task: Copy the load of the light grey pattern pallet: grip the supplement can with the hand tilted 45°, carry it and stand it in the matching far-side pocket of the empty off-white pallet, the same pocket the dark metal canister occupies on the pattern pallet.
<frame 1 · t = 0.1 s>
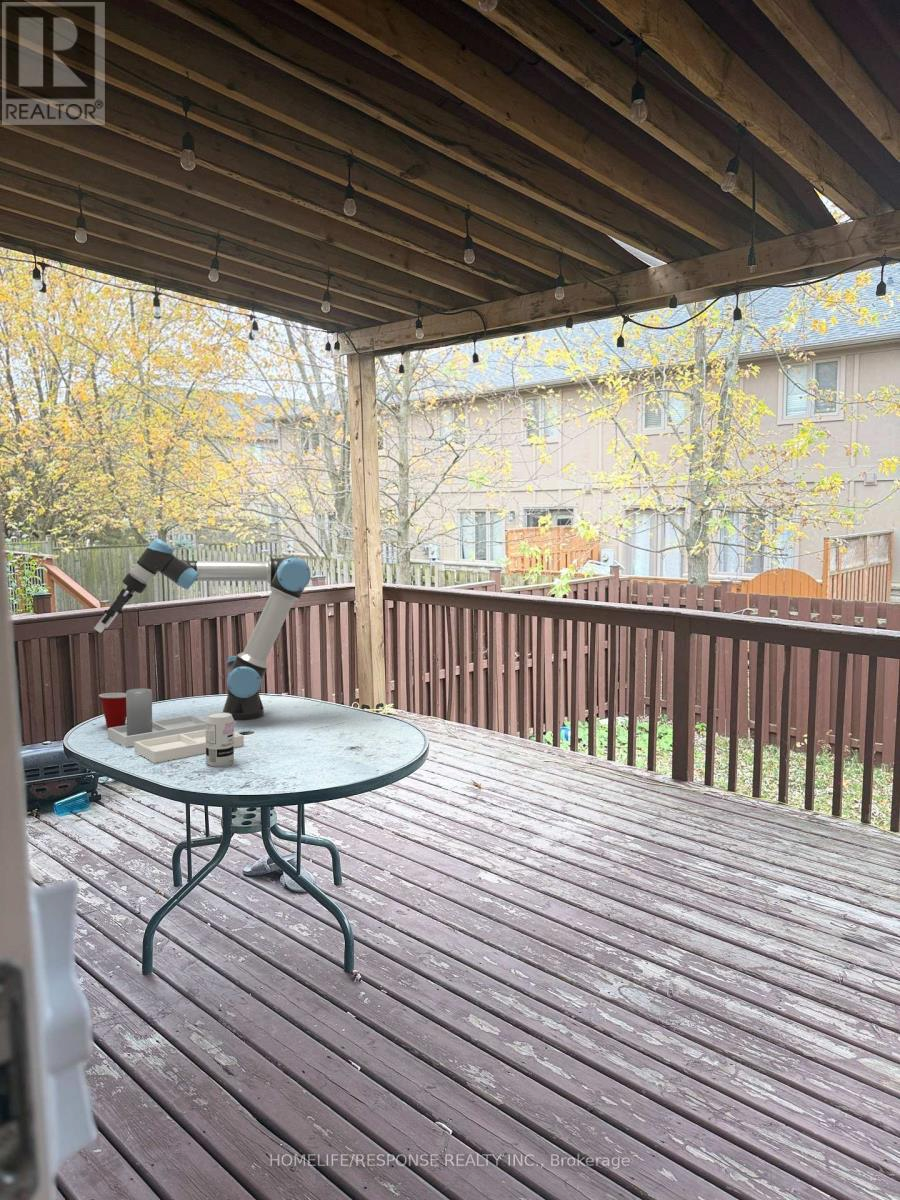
hand: (100, 628, 275), 36 cm above the table, tool tilted 35°, fingers open, 13 cm apart
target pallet: (190, 749, 257), on the table
pattern pallet: (160, 735, 273), on the table
supplement can: (220, 763, 243), on the table
plastic cup: (116, 727, 283), on the table
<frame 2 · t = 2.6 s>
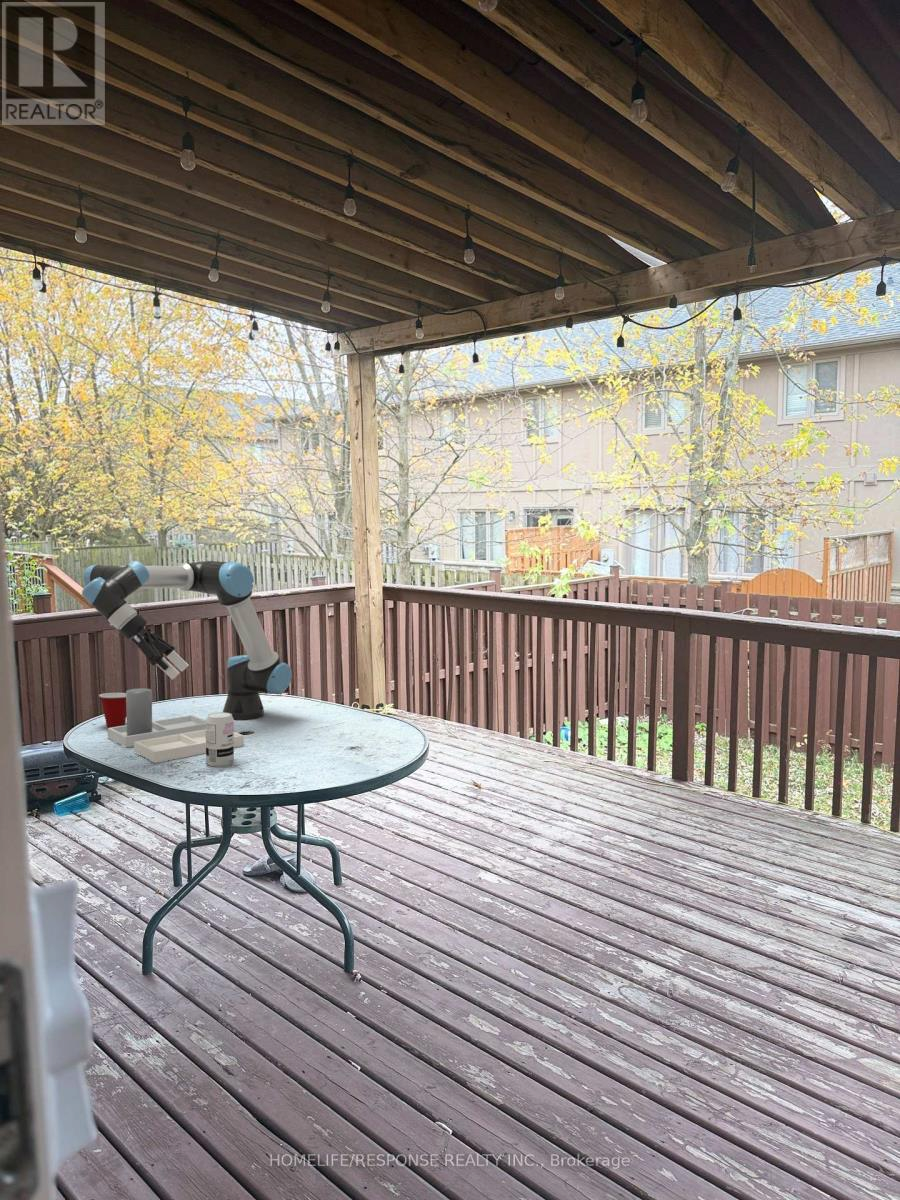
hand: (181, 672, 239), 28 cm above the table, tool tilted 45°, fingers open, 13 cm apart
nothing on the table moved.
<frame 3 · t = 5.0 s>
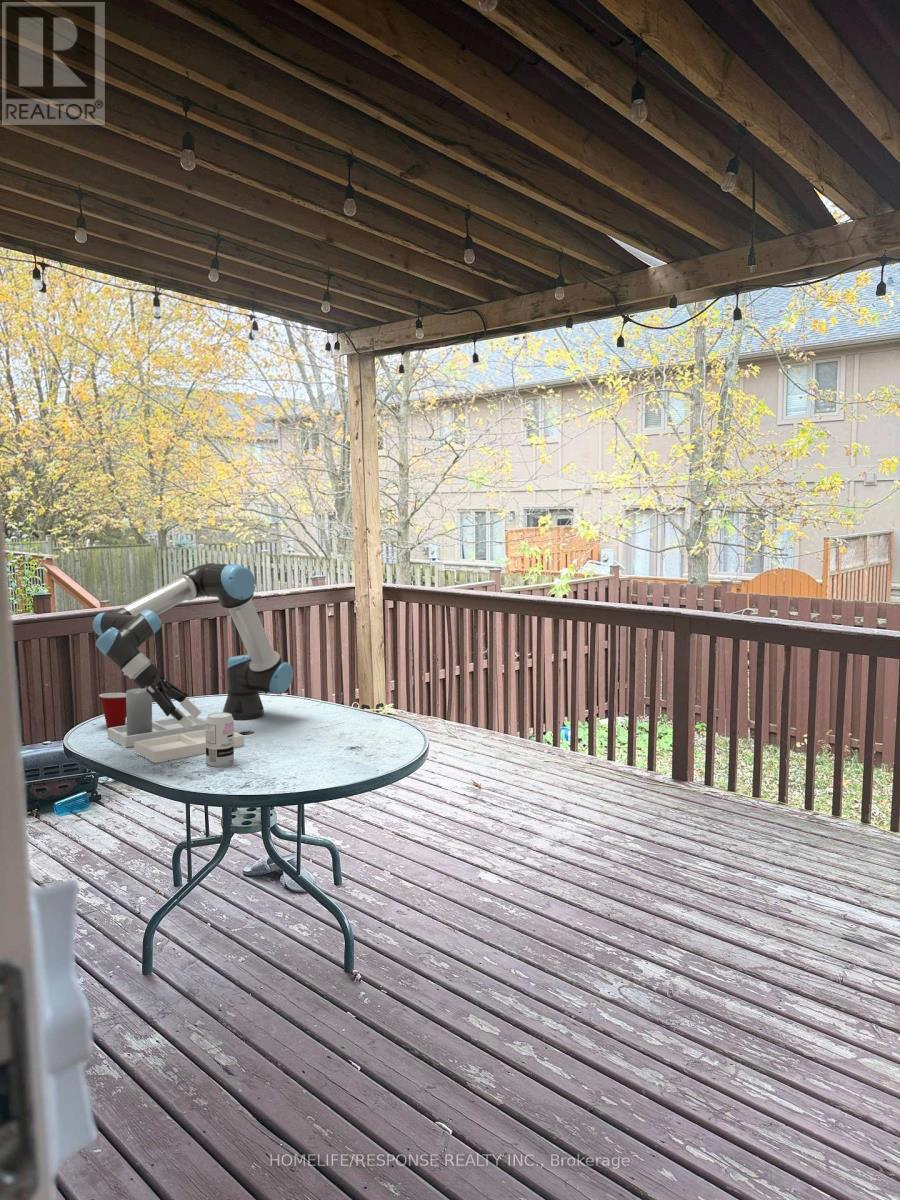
hand: (194, 720, 240), 14 cm above the table, tool tilted 45°, fingers open, 13 cm apart
nothing on the table moved.
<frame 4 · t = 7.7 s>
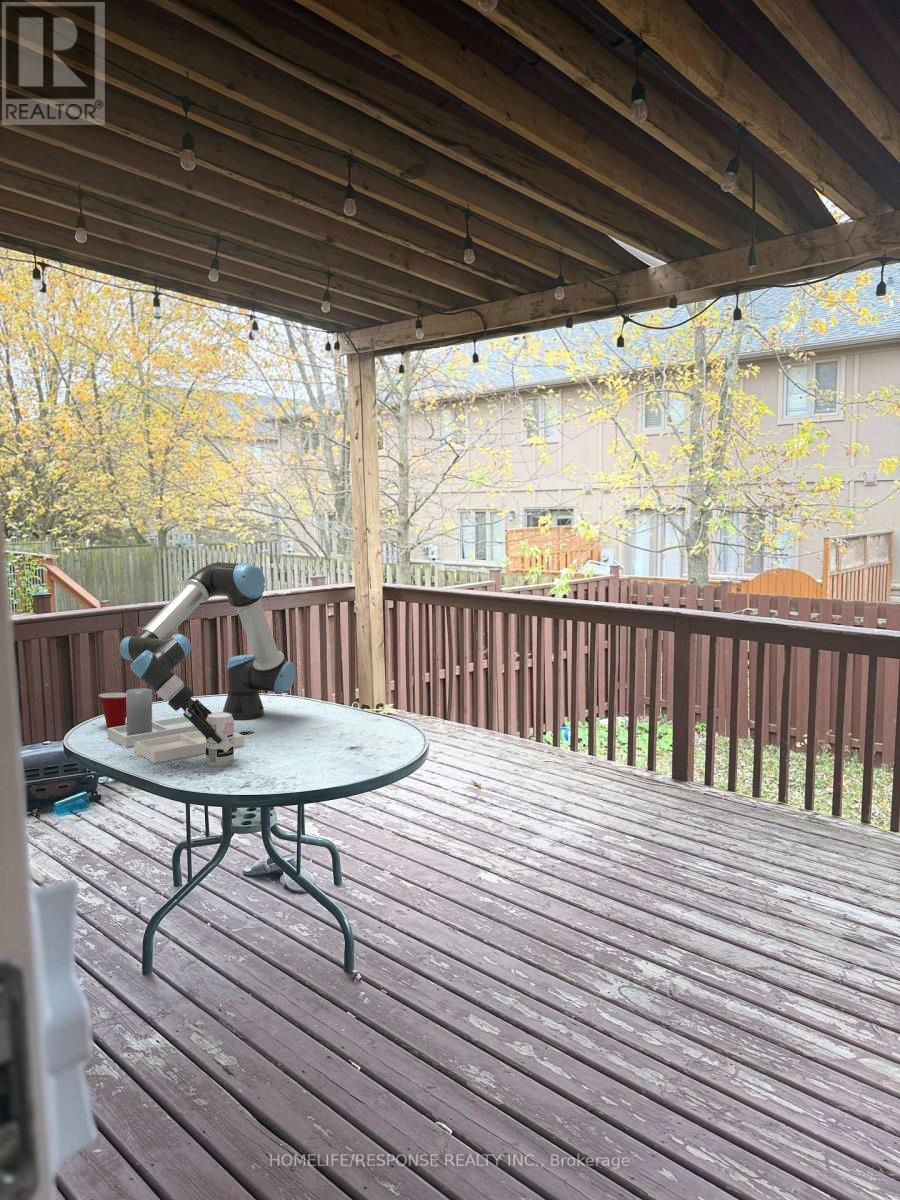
hand: (231, 744, 243), 6 cm above the table, tool tilted 45°, fingers closed on supplement can, 8 cm apart
supplement can: (220, 763, 243), on the table, touching gripper
everything else where it was.
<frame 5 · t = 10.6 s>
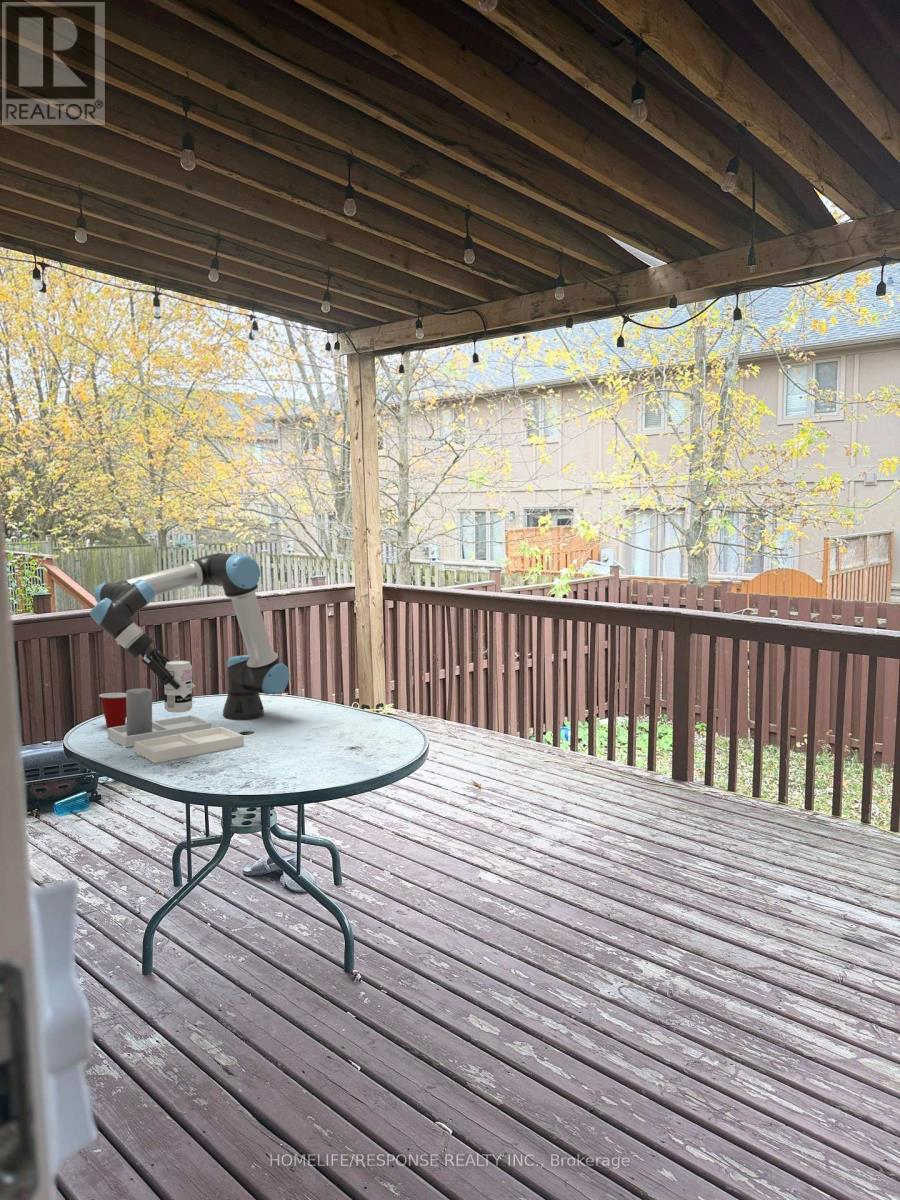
hand: (189, 691, 248), 20 cm above the table, tool tilted 45°, fingers closed on supplement can, 8 cm apart
supplement can: (178, 710, 248), point 14 cm above the table, touching gripper
everything else where it was.
when the fingers open (8 cm above the table, at t = 13.8 s): supplement can stays where it is, resting on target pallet.
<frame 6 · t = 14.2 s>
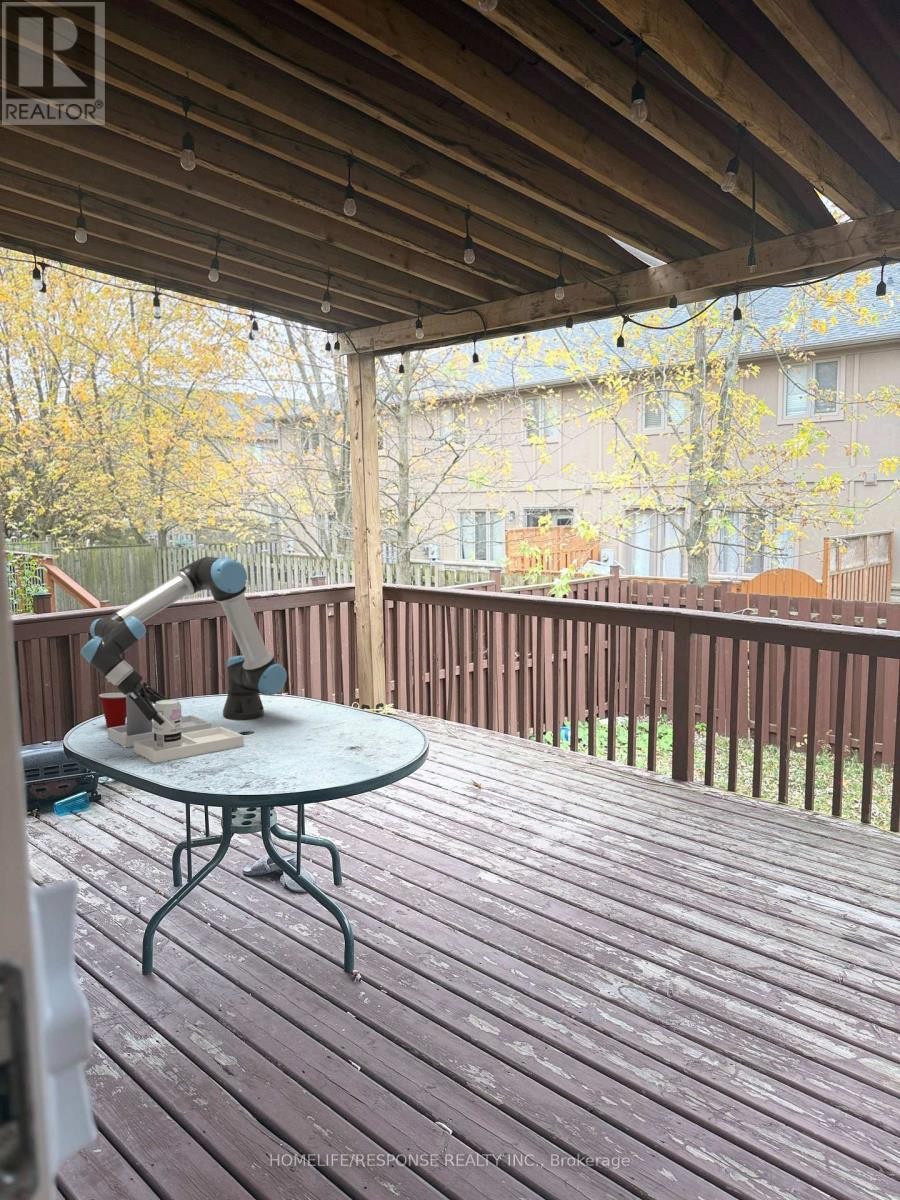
hand: (176, 725, 252), 9 cm above the table, tool tilted 45°, fingers open, 13 cm apart
supplement can: (168, 749, 252), point 1 cm above the table, touching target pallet
everything else where it was.
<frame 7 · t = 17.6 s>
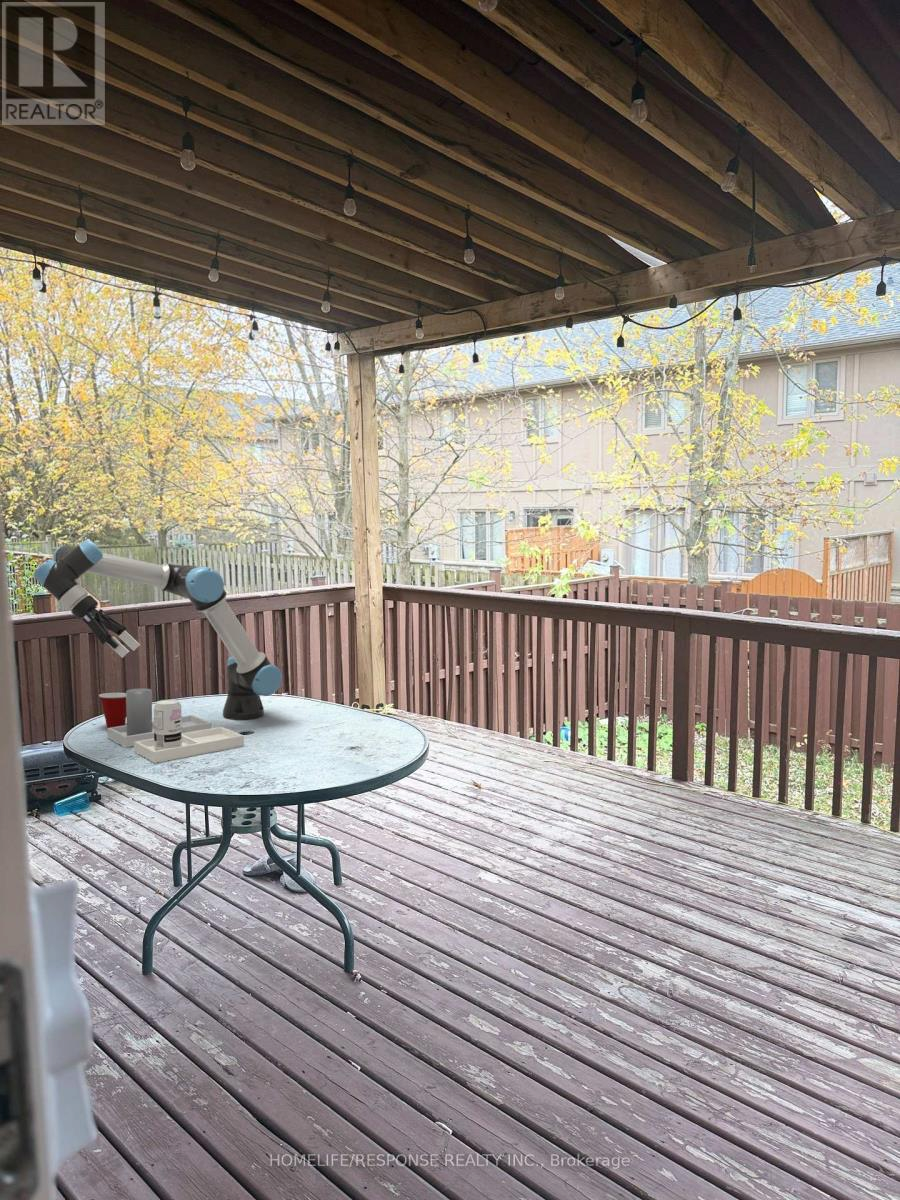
hand: (131, 651, 248), 33 cm above the table, tool tilted 45°, fingers open, 13 cm apart
nothing on the table moved.
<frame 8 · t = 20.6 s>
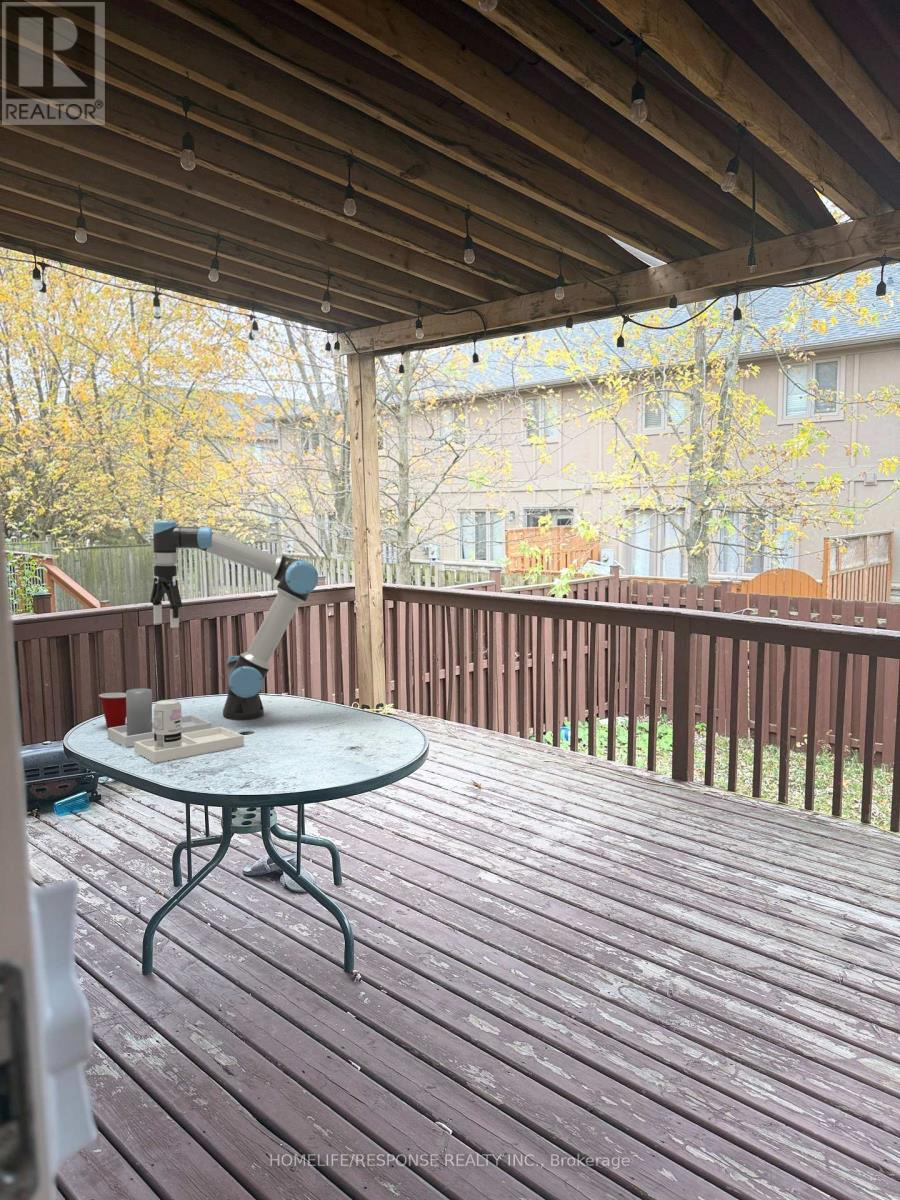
hand: (166, 625, 279), 37 cm above the table, tool pointing down, fingers open, 13 cm apart
nothing on the table moved.
at the end: supplement can 0.1 cm from the target spot on the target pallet, point 1.3 cm above the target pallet's base; supplement can tilted 0°; the gripper is holding nothing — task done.
